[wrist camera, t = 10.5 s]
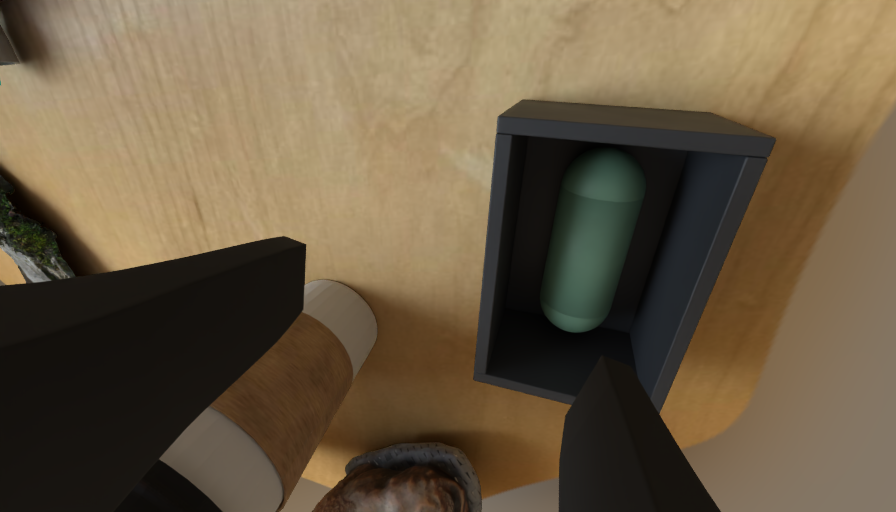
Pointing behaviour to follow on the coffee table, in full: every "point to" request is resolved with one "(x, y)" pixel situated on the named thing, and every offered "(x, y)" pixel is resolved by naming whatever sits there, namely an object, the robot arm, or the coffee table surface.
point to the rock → (29, 243)
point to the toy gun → (6, 50)
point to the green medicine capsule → (591, 237)
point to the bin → (650, 252)
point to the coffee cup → (266, 415)
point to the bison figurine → (407, 481)
